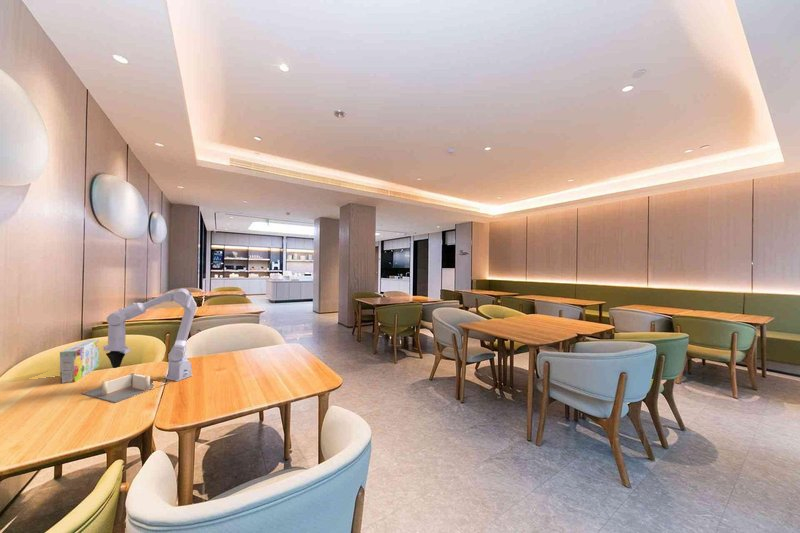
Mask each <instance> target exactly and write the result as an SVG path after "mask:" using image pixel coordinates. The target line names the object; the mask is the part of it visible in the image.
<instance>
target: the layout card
mask: <svg viewBox="0 0 800 533" xmlns="http://www.w3.org/2000/svg"><path fill="white" fill-rule="evenodd" d="M154 380H155V379H153V378H150V389H152V388H153V386H154V385H153V384H152V383H153V381H154ZM164 382H165V385H164V386H166V385H167V384H169V382H166V381H164ZM150 389H149V391H151V390H150ZM152 390H153V389H152ZM145 391H147V392H149V391H148V390H144V389H140V388H136V387H132V385H131V386H129V387H126V388H123V389H120V390H117V391H114V392H112V393H109V394H106V395H102V386H100V387H96V388H94V389H90V390H87V391H83V392H81V395H84V396H88V397H92V398H96V399H98V400H99V399H100V400H102V401H107V402H111V403H114V404H115V403H119V402H121V400H122V401H124V399H125V400H127V399H129V397H130V398H132V396H133V397H135V396H134V395H136V396H138V395H141V394H143V392H144V393H146V392H145ZM140 393H141V394H140ZM137 394H138V395H137Z"/></svg>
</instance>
